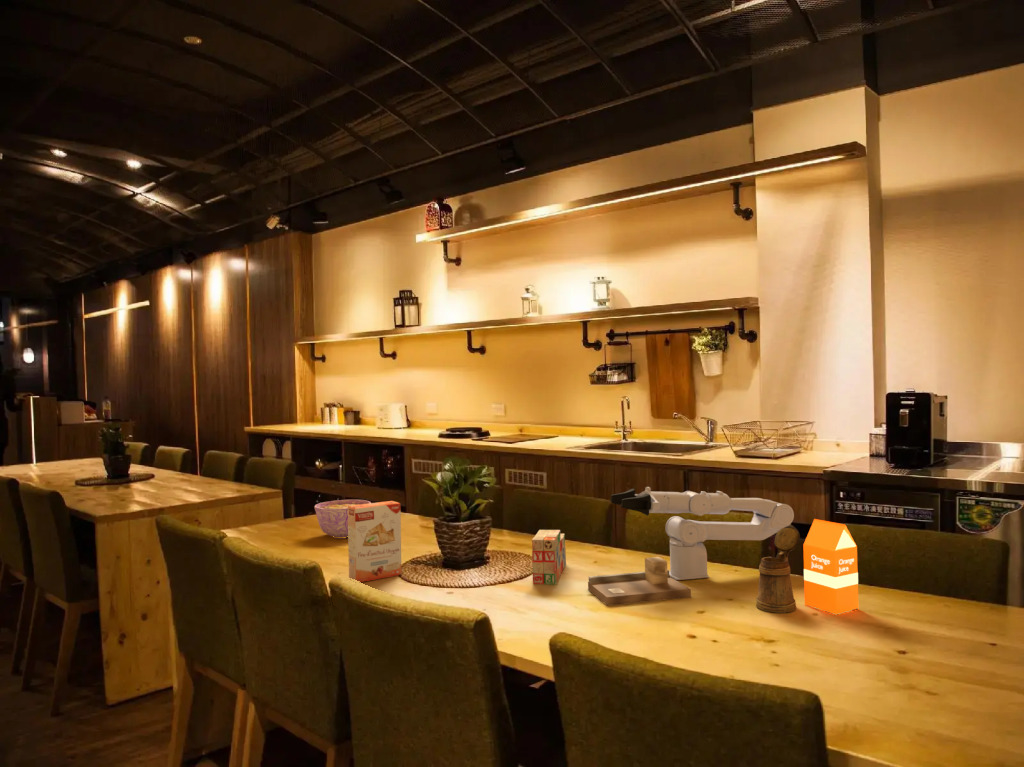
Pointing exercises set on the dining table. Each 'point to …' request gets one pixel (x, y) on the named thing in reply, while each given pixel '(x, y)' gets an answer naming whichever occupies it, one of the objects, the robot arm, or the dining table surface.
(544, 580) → the stack of blocks
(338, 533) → the bowl of food
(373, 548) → the cracker box
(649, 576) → the tan wooden block
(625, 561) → the dining table surface
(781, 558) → the wooden mug
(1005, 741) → the dining table surface
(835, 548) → the orange juice
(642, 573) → the walnut board
